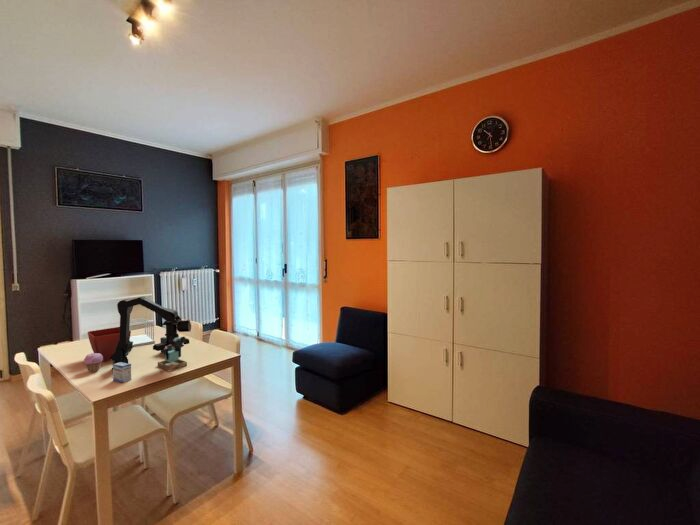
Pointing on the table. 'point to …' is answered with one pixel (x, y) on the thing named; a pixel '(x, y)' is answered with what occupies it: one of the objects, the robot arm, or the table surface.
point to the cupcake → (93, 361)
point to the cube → (172, 356)
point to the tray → (172, 364)
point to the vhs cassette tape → (169, 346)
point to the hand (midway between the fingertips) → (171, 358)
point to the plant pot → (105, 341)
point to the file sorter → (142, 338)
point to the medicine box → (121, 372)
